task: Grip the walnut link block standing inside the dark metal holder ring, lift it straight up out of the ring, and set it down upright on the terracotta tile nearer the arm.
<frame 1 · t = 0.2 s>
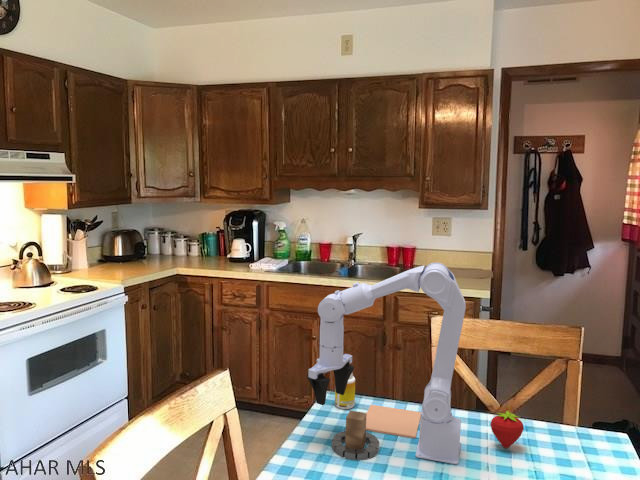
hand: (330, 398, 125), 10 cm above the table, tool pointing down, fingers open, 7 cm apart
terracotta tile: (391, 421, 134), on the table
strawberry: (505, 448, 122), on the table
link block: (355, 431, 120), in the holder ring
supplement bottle: (344, 406, 143), on the table
holder ring: (355, 447, 121), on the table
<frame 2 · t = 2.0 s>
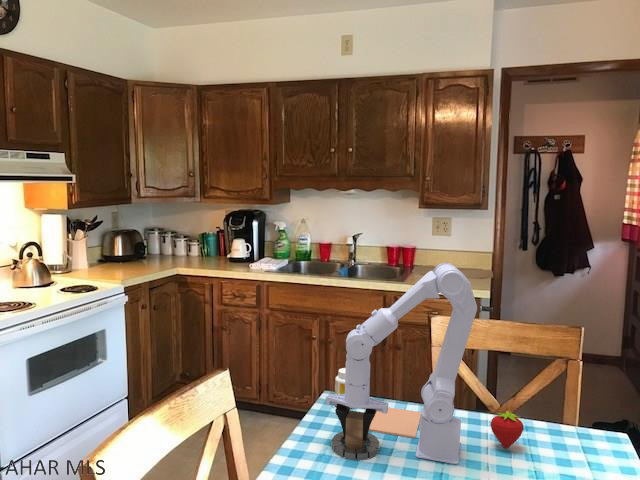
hand: (355, 436, 120), 3 cm above the table, tool pointing down, fingers closed on link block, 4 cm apart
link block: (355, 431, 120), in the holder ring, touching gripper
everything else where it was.
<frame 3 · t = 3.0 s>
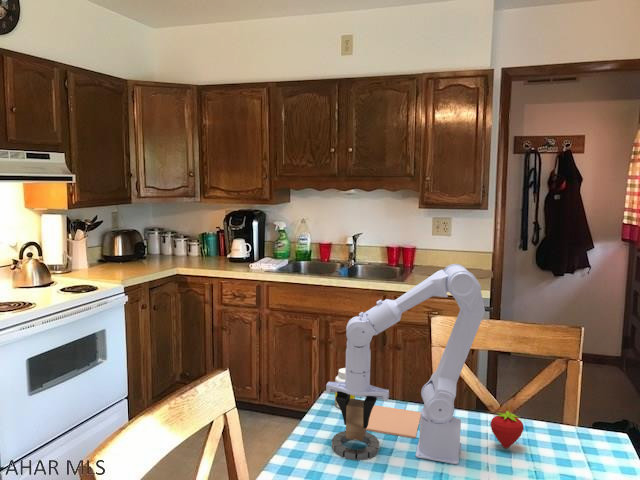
hand: (356, 424, 120), 6 cm above the table, tool pointing down, fingers closed on link block, 4 cm apart
link block: (356, 419, 120), point 7 cm above the table, touching gripper
everything else where it was.
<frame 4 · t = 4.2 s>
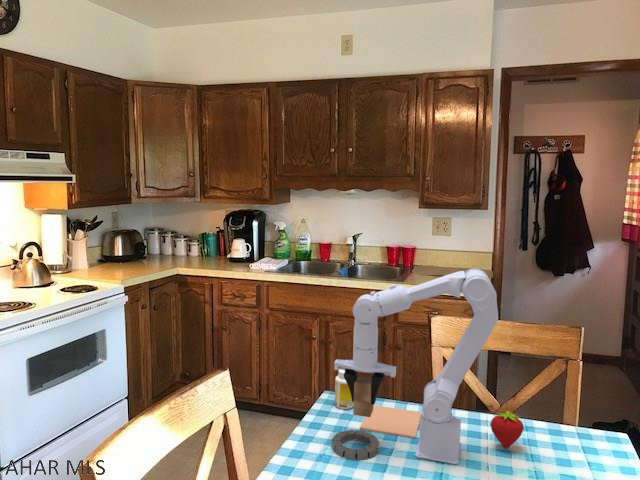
hand: (363, 401, 122), 10 cm above the table, tool pointing down, fingers closed on link block, 4 cm apart
link block: (363, 396, 122), point 12 cm above the table, touching gripper
everything else where it was.
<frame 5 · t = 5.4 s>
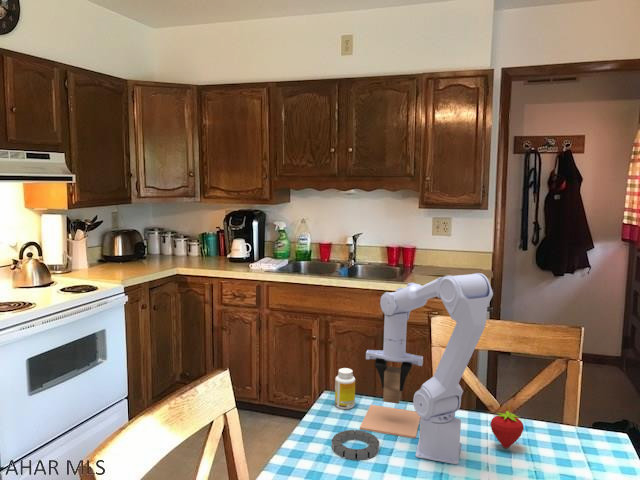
hand: (392, 388, 133), 9 cm above the table, tool pointing down, fingers closed on link block, 4 cm apart
link block: (392, 384, 133), point 10 cm above the table, touching gripper
everything else where it was.
when the fingers open (5 cm above the table, at t = 6.5 s): link block drops 1 cm, resting on terracotta tile.
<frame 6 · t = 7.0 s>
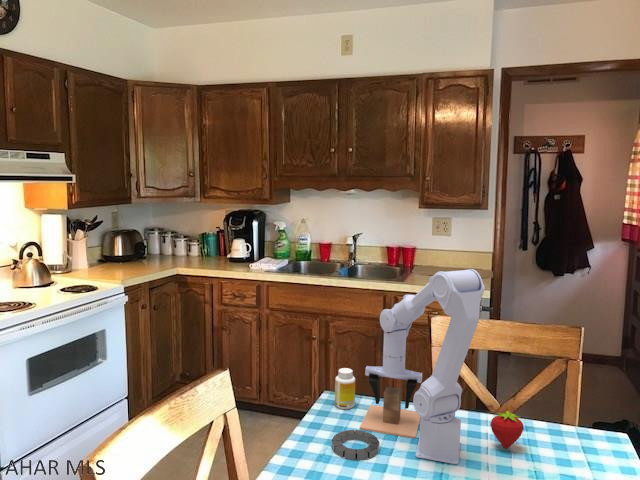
hand: (392, 404, 134), 5 cm above the table, tool pointing down, fingers open, 7 cm apart
link block: (392, 405, 133), on the terracotta tile
everything else where it was.
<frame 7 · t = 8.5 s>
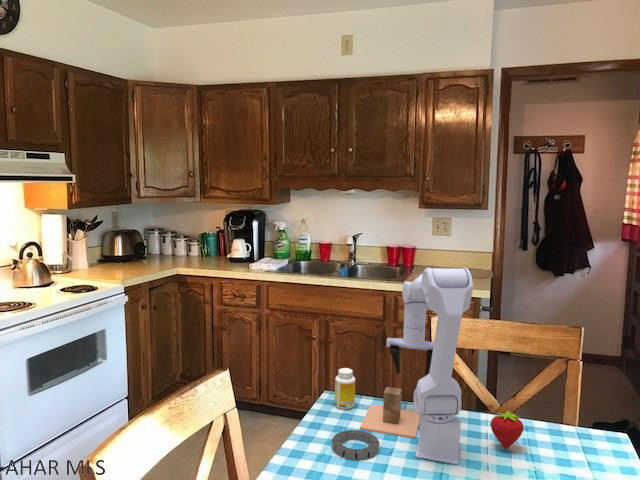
hand: (412, 374, 139), 10 cm above the table, tool pointing down, fingers open, 7 cm apart
nothing on the table moved.
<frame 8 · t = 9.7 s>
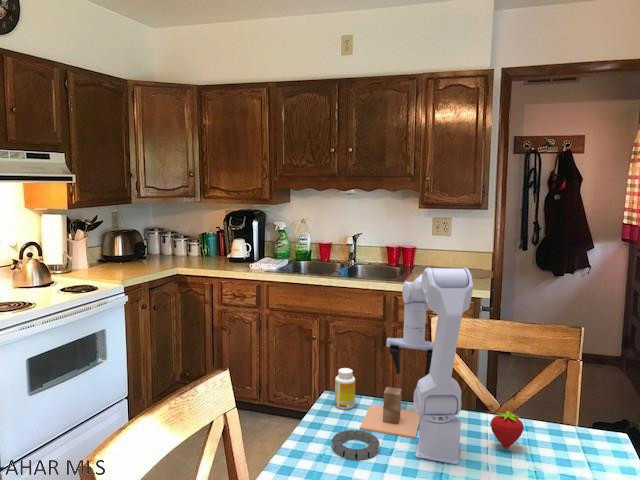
hand: (412, 374, 139), 10 cm above the table, tool pointing down, fingers open, 7 cm apart
nothing on the table moved.
at the end: link block inside the target area on the terracotta tile (0.3 cm from its centre), point 4.5 cm above the terracotta tile's base; link block tilted 0°; the gripper is holding nothing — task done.
